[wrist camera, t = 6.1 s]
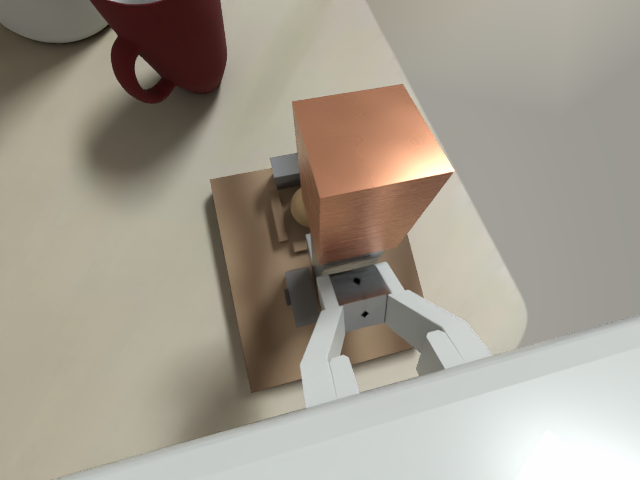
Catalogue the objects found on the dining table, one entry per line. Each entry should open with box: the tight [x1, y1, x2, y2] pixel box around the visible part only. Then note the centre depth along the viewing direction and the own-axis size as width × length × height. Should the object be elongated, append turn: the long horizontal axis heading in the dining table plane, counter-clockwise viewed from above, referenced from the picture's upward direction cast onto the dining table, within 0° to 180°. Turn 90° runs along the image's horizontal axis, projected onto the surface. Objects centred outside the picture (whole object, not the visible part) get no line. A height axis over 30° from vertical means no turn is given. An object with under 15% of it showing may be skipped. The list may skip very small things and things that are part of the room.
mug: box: [90, 0, 227, 104], centre depth 19 cm, size 11×8×10 cm
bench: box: [210, 153, 424, 393], centre depth 20 cm, size 16×18×7 cm
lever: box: [292, 84, 454, 306], centre depth 12 cm, size 3×5×14 cm, turn 13°
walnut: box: [291, 188, 310, 228], centre depth 20 cm, size 4×4×4 cm
